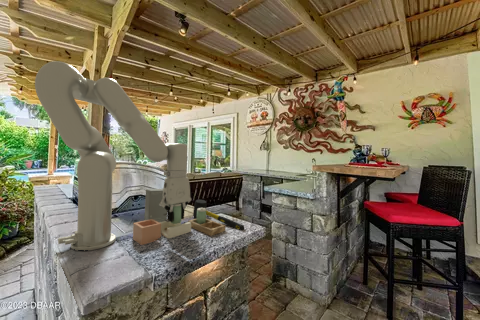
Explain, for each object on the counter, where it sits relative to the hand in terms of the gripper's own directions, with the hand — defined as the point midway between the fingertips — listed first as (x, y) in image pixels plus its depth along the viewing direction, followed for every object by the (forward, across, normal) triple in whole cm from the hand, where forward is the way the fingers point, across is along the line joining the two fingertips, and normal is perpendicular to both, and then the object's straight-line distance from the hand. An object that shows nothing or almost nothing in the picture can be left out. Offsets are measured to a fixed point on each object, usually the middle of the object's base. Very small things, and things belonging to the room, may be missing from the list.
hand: (176, 219), depth 81 cm
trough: (+6, +11, -5) cm, 14 cm away
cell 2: (+5, +11, -2) cm, 13 cm away
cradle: (+6, -1, 0) cm, 6 cm away
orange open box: (+6, -11, +2) cm, 12 cm away
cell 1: (+1, 0, 0) cm, 1 cm away
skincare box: (+6, -1, +15) cm, 16 cm away
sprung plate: (+6, -1, 0) cm, 6 cm away
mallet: (+7, +20, -3) cm, 21 cm away
